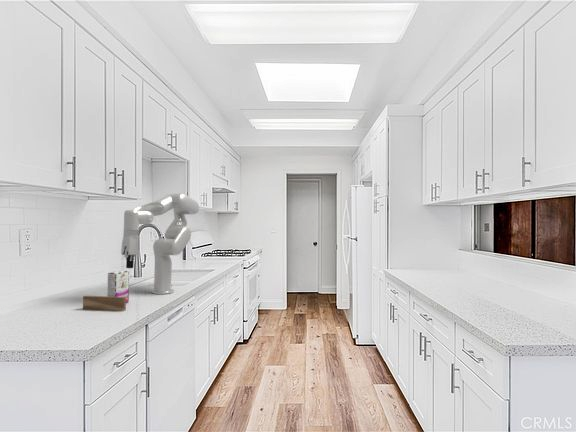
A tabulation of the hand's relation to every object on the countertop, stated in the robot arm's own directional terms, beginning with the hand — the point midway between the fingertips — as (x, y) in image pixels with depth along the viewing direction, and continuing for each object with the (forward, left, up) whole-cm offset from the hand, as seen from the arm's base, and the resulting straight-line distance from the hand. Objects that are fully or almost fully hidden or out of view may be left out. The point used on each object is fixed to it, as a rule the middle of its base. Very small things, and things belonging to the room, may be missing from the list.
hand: (129, 268), depth 215 cm
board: (+24, 0, -17) cm, 29 cm away
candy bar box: (+12, 0, -17) cm, 21 cm away
